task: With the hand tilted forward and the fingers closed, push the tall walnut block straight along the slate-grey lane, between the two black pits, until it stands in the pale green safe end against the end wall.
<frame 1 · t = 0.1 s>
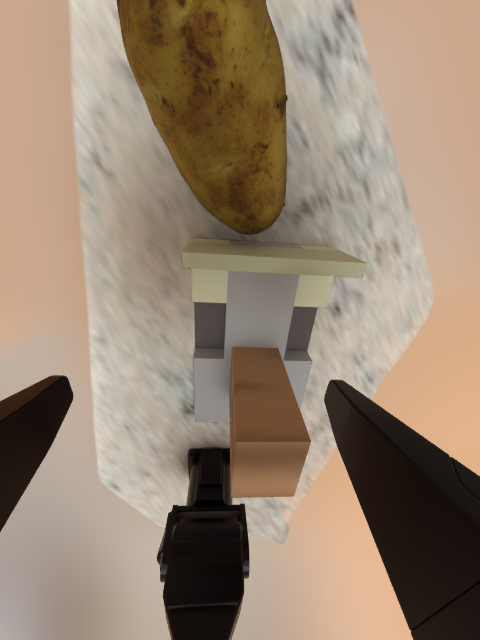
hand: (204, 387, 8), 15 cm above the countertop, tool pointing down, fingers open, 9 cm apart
potato: (219, 137, 17), on the countertop
trap board: (252, 340, 25), on the countertop
walnut block: (252, 371, 24), point 2 cm above the countertop, touching trap board
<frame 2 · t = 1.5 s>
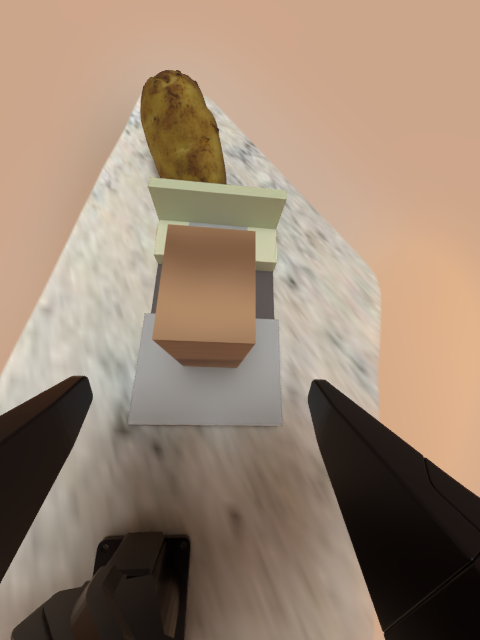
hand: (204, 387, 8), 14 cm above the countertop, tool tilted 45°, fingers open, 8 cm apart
potato: (188, 180, 28), on the countertop
trap board: (214, 313, 23), on the countertop
walnut block: (212, 332, 21), point 2 cm above the countertop, touching trap board
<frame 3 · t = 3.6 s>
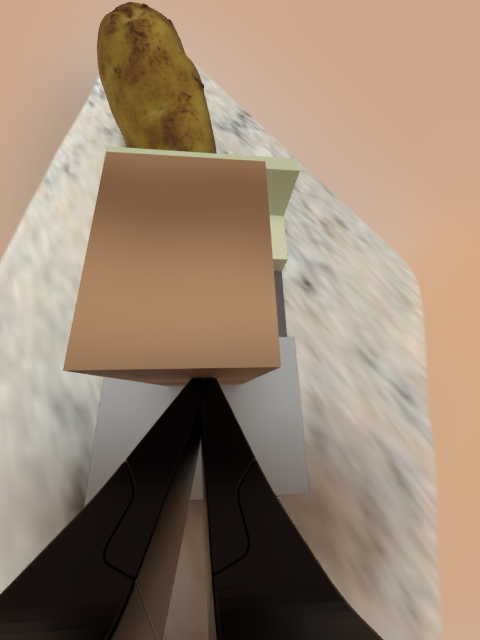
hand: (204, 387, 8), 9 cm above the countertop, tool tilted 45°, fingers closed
potato: (169, 160, 23), on the countertop
trap board: (207, 330, 18), on the countertop
walnut block: (205, 337, 15), point 2 cm above the countertop, touching gripper
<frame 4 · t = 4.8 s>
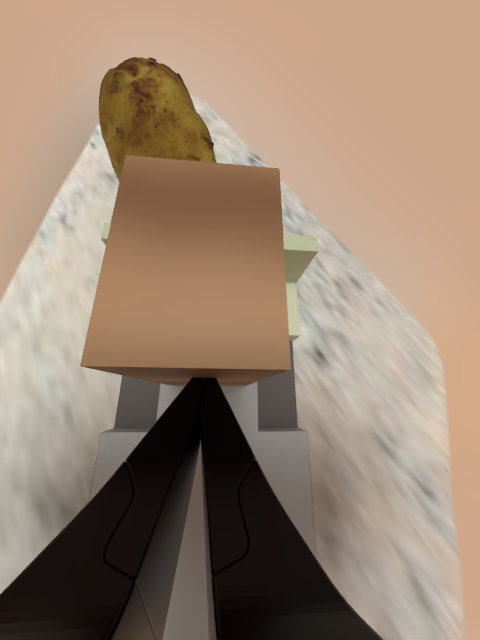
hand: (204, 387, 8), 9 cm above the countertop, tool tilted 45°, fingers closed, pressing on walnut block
potato: (174, 209, 21), on the countertop
trap board: (209, 411, 16), on the countertop
walnut block: (210, 338, 15), point 2 cm above the countertop, touching gripper, trap board
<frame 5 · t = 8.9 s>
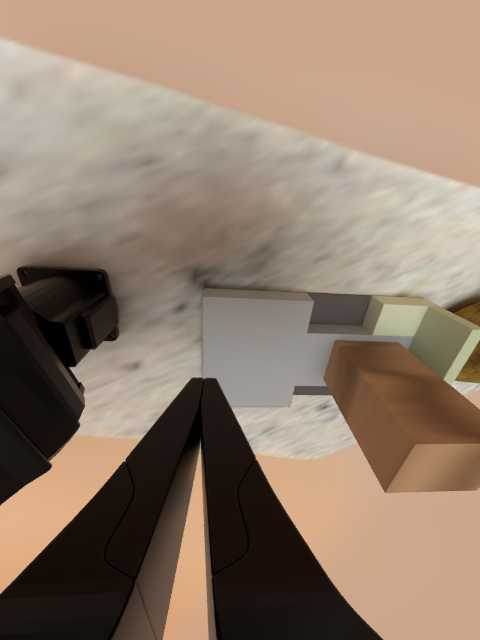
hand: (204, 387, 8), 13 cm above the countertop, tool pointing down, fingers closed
potato: (475, 319, 23), on the countertop
trap board: (304, 349, 24), on the countertop
walnut block: (359, 361, 22), point 2 cm above the countertop, touching trap board
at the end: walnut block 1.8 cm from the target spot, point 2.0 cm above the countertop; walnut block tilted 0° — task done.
